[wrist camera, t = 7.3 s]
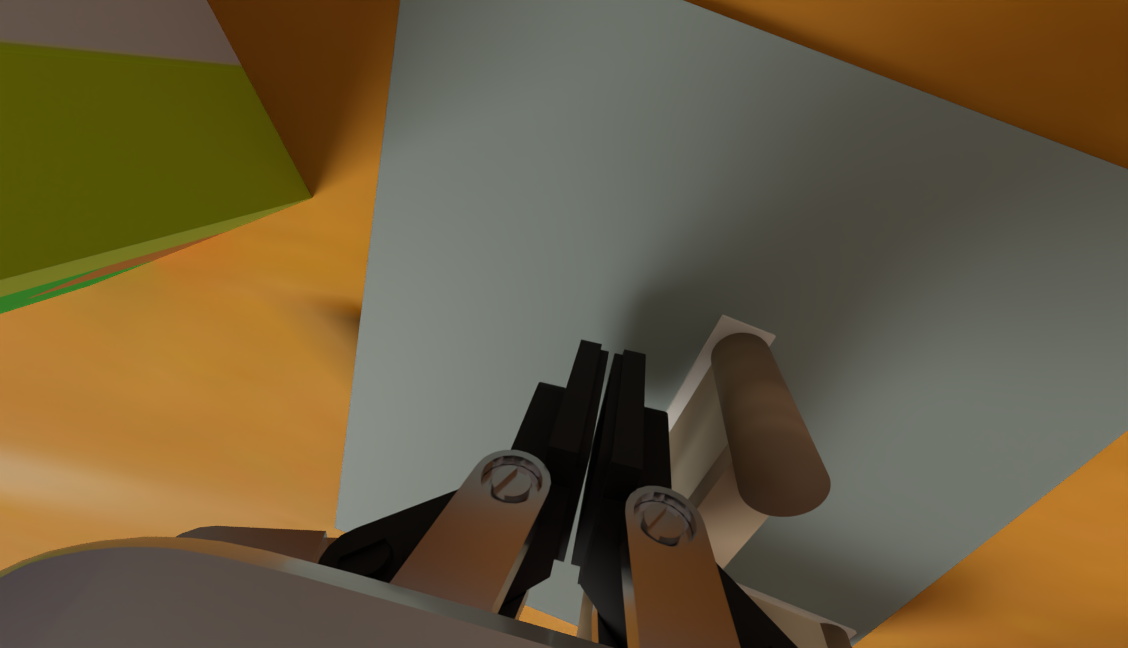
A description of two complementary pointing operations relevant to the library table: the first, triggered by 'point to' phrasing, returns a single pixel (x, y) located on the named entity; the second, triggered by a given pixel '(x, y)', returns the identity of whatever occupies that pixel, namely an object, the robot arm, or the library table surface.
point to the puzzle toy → (124, 141)
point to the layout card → (734, 278)
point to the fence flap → (744, 447)
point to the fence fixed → (815, 641)
